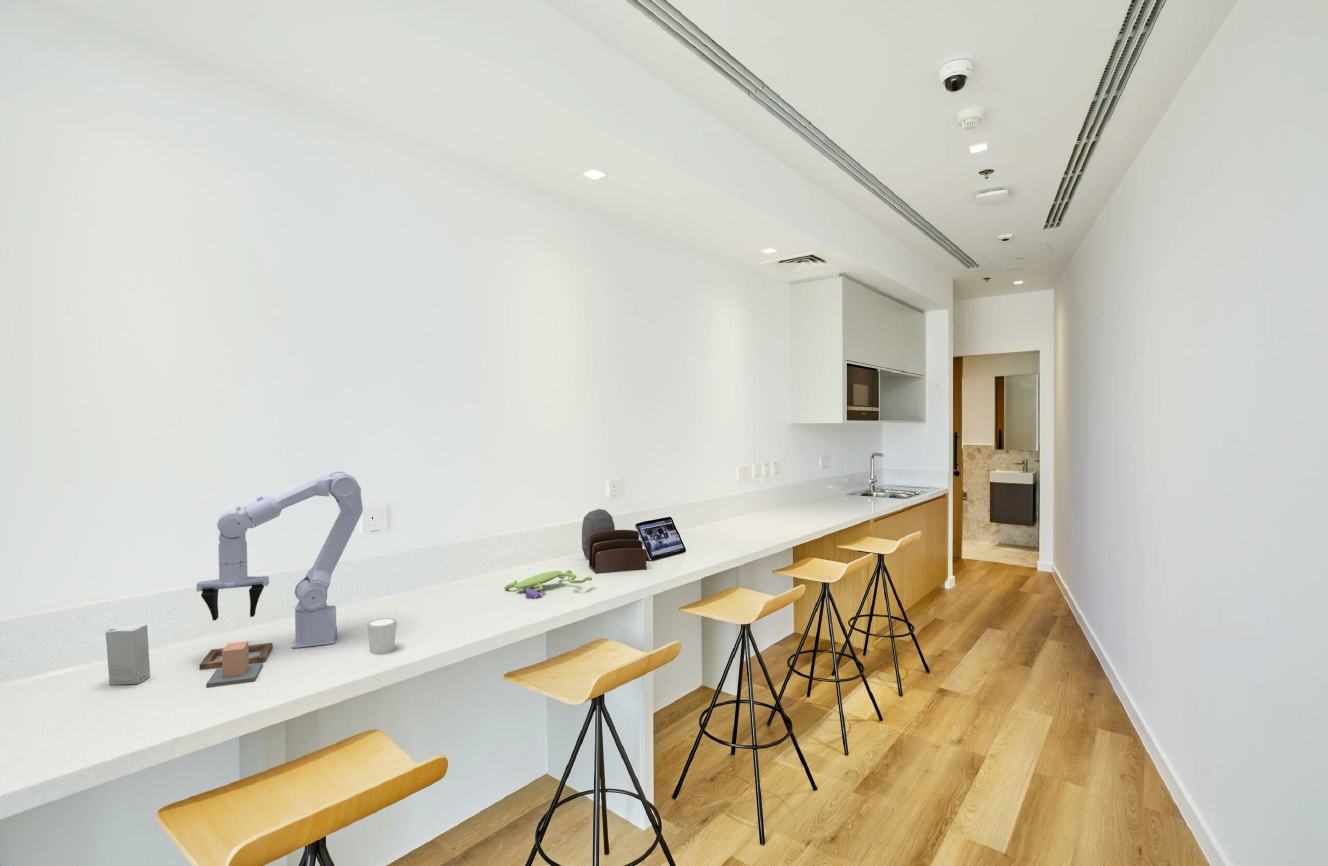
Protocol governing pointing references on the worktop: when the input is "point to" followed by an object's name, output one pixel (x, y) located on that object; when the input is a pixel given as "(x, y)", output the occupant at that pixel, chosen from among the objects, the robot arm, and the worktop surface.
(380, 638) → the light grey cup
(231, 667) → the terracotta block
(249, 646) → the walnut frame
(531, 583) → the figurine
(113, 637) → the skincare box
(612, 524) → the small grey backpack
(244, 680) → the slate mat
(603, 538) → the letter holder
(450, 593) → the worktop surface
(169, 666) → the worktop surface
